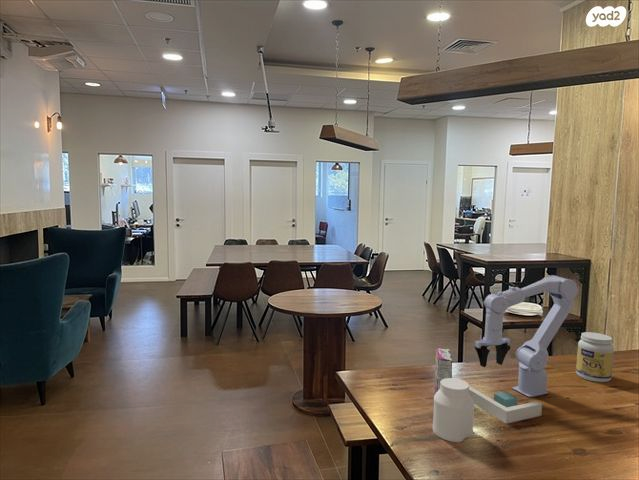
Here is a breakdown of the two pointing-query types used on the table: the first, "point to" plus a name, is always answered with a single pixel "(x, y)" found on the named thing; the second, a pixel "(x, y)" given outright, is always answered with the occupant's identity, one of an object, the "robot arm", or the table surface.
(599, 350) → the supplement tub
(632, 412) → the table surface
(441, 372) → the candy bar box
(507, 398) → the cube
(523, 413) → the white l-shaped block
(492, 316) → the robot arm
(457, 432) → the jar
